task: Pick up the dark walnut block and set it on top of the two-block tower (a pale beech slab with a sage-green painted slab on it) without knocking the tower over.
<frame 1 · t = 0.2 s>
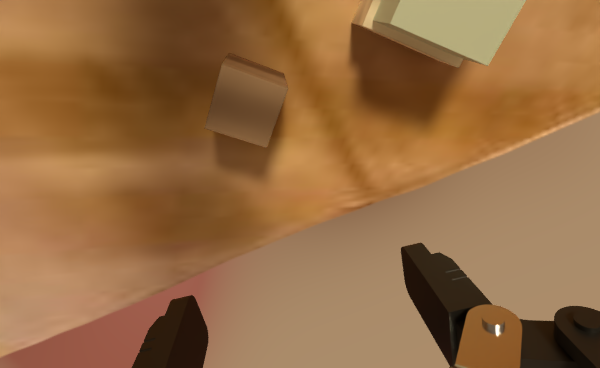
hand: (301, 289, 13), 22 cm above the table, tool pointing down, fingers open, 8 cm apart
walnut block: (248, 90, 31), on the table
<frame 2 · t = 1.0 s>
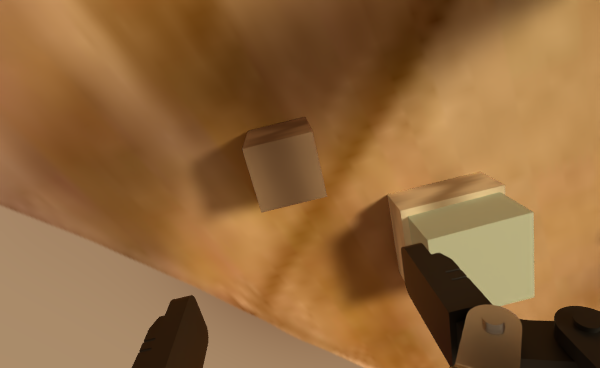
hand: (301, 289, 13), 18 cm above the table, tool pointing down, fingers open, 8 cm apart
tower top: (457, 243, 30), point 4 cm above the table, touching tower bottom
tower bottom: (436, 222, 34), on the table, touching tower top
walnut block: (283, 151, 30), on the table
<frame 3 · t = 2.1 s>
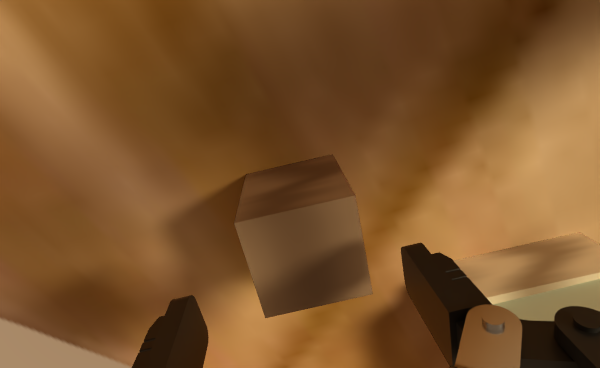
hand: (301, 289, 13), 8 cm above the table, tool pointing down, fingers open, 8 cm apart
tower top: (555, 341, 21), point 4 cm above the table, touching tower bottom
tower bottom: (507, 298, 24), on the table, touching tower top
walnut block: (298, 203, 20), on the table
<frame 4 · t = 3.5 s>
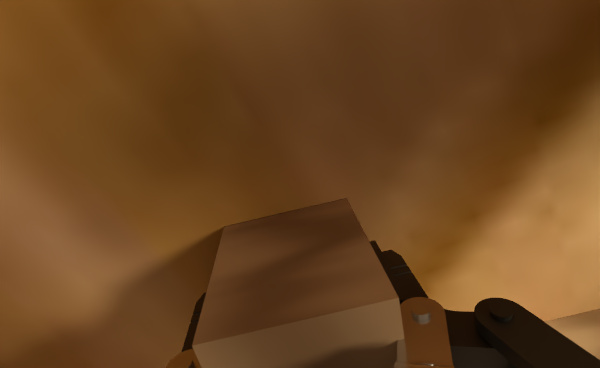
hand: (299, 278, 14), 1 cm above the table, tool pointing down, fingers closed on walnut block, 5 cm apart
walnut block: (298, 264, 15), on the table, touching gripper
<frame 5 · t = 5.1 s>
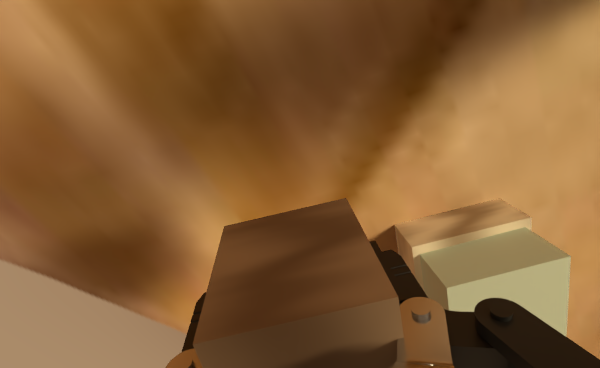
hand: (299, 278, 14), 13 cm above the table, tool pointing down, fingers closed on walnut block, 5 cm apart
tower top: (475, 284, 26), point 4 cm above the table, touching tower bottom
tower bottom: (448, 254, 30), on the table, touching tower top
walnut block: (298, 263, 15), point 12 cm above the table, touching gripper
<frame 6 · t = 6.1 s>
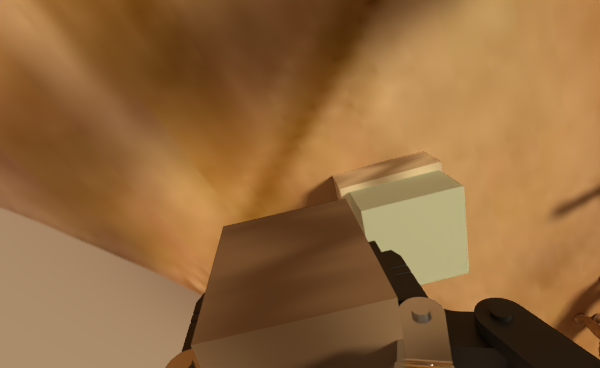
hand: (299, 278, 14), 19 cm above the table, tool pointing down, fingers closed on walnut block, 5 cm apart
tower top: (399, 221, 31), point 4 cm above the table, touching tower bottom
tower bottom: (384, 203, 35), on the table, touching tower top
walnut block: (297, 264, 15), point 18 cm above the table, touching gripper
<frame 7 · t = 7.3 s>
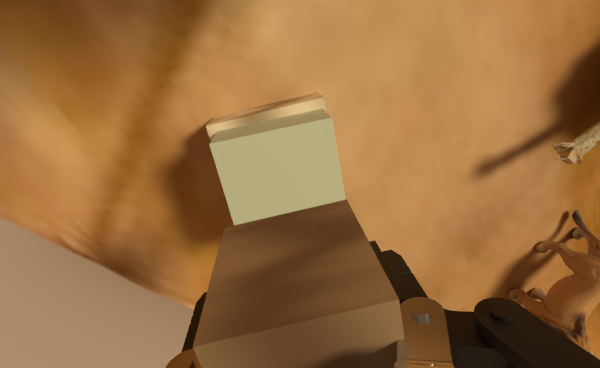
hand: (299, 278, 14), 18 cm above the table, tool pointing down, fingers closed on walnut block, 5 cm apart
tower top: (282, 169, 27), point 4 cm above the table, touching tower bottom
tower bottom: (278, 154, 31), on the table, touching tower top
lion figurine: (539, 271, 38), on the table
walnut block: (298, 265, 15), point 17 cm above the table, touching gripper
when the fingers open (10 cm above the table, at t = 9.5 s): walnut block drops 1 cm, resting on tower top.
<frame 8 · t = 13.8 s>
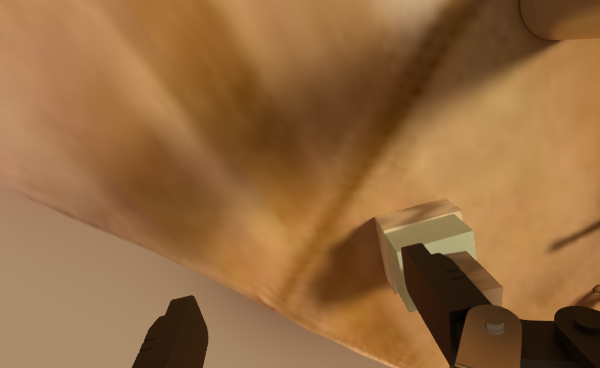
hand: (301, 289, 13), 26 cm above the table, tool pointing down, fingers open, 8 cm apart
tower top: (424, 252, 40), point 4 cm above the table, touching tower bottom, walnut block
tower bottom: (413, 237, 44), on the table, touching tower top
walnut block: (442, 274, 36), point 8 cm above the table, touching tower top
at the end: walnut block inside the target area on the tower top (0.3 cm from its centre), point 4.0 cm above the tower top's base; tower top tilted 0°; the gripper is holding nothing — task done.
